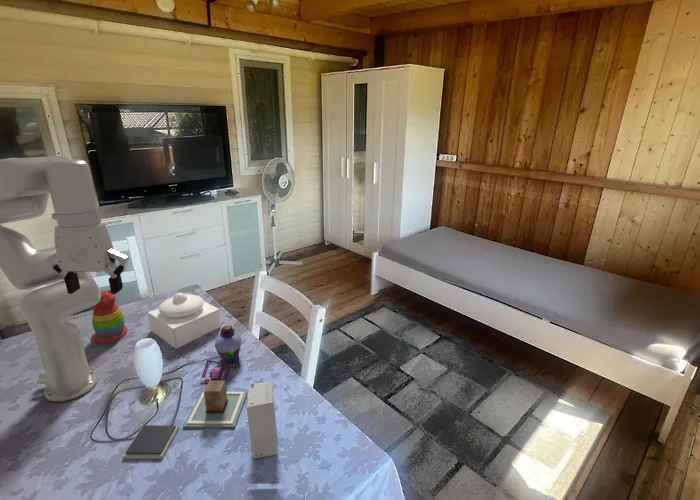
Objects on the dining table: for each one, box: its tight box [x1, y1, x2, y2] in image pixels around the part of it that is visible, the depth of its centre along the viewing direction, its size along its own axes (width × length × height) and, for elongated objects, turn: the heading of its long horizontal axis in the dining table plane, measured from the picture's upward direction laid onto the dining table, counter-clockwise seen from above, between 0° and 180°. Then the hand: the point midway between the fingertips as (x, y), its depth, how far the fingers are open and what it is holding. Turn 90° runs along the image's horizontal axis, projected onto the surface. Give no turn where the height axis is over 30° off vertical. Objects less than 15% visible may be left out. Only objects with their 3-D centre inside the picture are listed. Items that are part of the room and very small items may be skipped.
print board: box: [182, 390, 248, 429], centre depth 99 cm, size 13×13×1 cm
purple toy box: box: [200, 359, 232, 385], centre depth 111 cm, size 7×5×9 cm
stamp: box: [203, 379, 228, 413], centre depth 98 cm, size 4×4×7 cm
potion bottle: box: [214, 325, 242, 364], centre depth 118 cm, size 9×9×12 cm
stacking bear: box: [91, 289, 128, 344], centre depth 129 cm, size 11×10×18 cm
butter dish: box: [147, 292, 222, 350], centre depth 133 cm, size 18×18×16 cm
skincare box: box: [246, 380, 278, 459], centre depth 87 cm, size 8×6×15 cm
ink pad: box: [122, 424, 180, 460], centre depth 89 cm, size 9×9×1 cm
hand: (96, 291), depth 84 cm, fingers open, 9 cm apart
